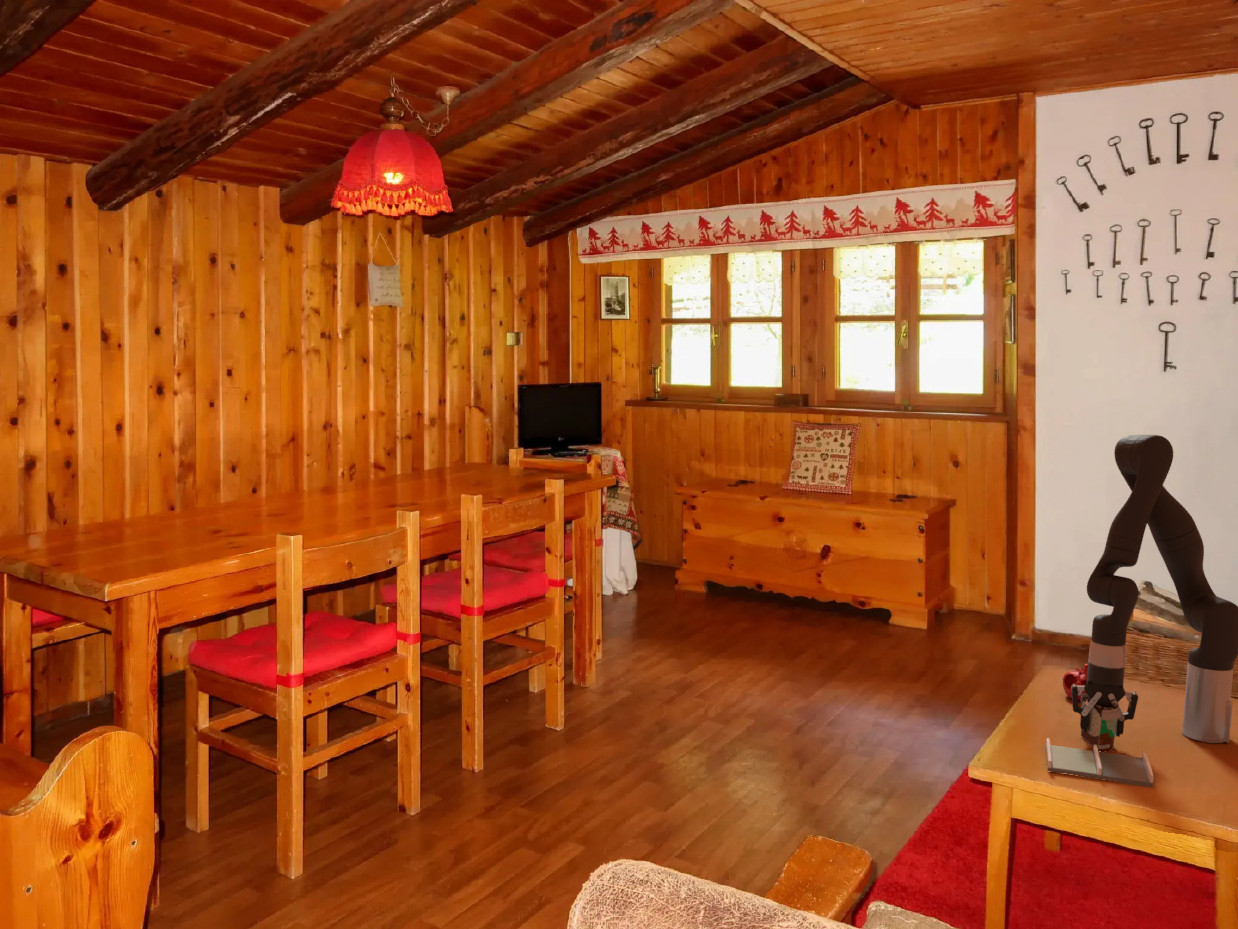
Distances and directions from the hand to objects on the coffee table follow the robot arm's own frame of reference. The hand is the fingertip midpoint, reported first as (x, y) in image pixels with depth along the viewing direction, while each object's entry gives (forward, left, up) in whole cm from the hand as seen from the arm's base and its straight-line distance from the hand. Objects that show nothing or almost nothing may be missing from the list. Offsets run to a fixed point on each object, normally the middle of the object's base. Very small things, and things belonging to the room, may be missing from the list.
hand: (1100, 733), depth 235 cm
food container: (-1, 0, -3) cm, 3 cm away
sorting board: (+2, +15, -3) cm, 15 cm away
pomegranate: (+2, -33, -3) cm, 33 cm away
